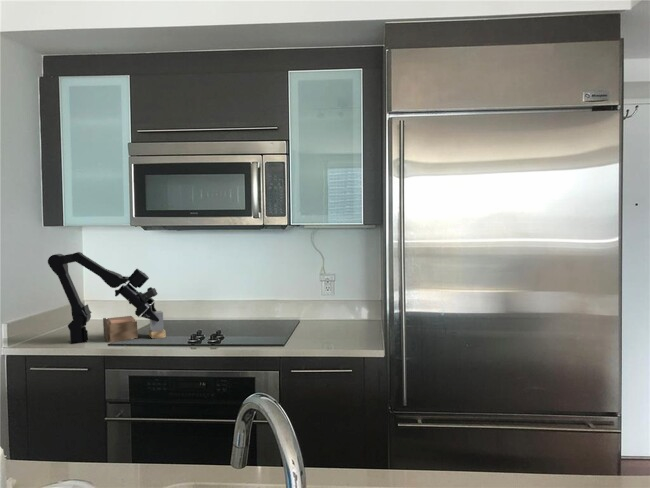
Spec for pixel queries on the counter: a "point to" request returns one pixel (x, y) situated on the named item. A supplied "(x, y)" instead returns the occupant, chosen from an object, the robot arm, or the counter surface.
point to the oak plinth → (157, 334)
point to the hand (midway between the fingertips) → (159, 319)
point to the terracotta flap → (121, 319)
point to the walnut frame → (119, 330)
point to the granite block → (157, 325)
